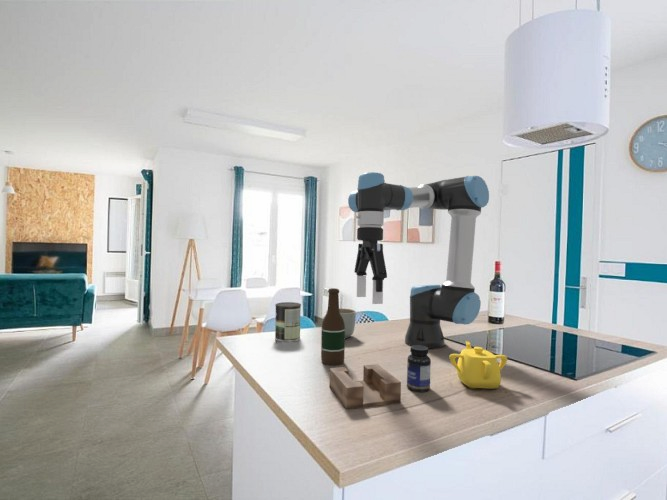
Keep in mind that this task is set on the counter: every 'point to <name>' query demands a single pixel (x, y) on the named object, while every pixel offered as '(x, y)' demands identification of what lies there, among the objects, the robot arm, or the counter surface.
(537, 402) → the counter surface
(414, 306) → the robot arm
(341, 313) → the planter
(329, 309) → the beer bottle
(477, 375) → the teapot
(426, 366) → the pill bottle
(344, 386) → the socket
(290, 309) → the coffee can
